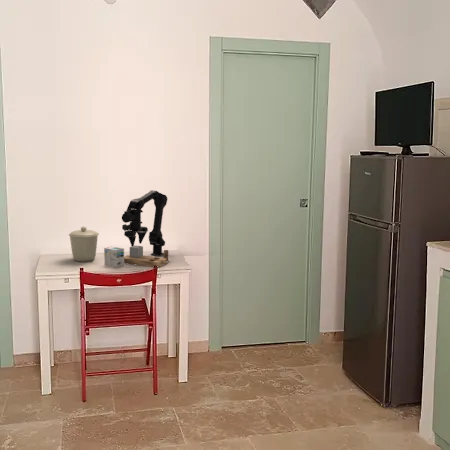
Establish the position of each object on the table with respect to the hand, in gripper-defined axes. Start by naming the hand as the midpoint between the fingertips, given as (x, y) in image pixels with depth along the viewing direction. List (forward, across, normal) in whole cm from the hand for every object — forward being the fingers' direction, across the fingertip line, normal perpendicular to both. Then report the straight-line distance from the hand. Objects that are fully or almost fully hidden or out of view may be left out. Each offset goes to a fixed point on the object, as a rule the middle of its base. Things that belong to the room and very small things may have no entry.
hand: (136, 244), depth 368 cm
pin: (+10, -7, +17) cm, 21 cm away
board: (+10, +3, +7) cm, 13 cm away
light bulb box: (+10, +16, -6) cm, 20 cm away
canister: (+10, +13, -30) cm, 34 cm away
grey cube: (+7, 0, 0) cm, 7 cm away
